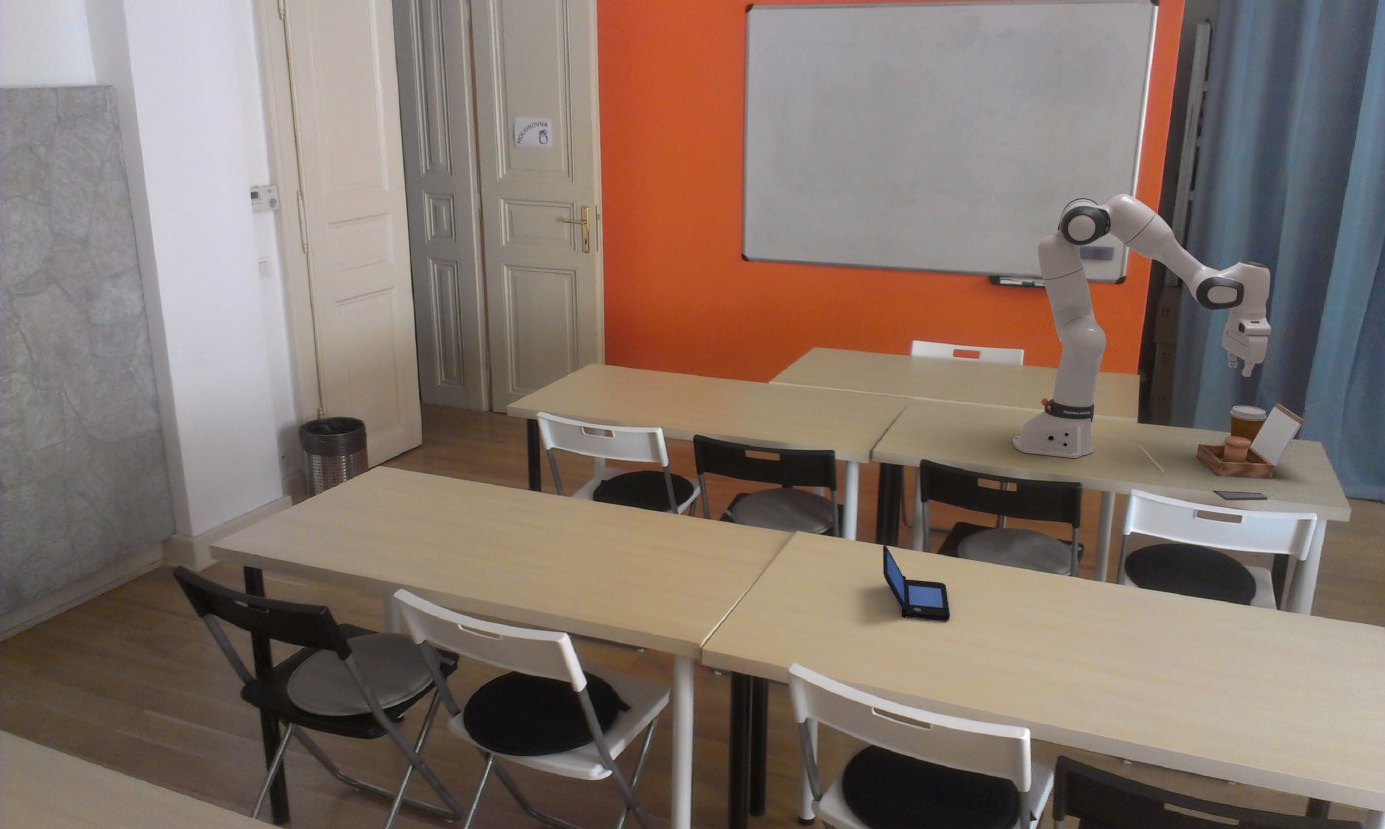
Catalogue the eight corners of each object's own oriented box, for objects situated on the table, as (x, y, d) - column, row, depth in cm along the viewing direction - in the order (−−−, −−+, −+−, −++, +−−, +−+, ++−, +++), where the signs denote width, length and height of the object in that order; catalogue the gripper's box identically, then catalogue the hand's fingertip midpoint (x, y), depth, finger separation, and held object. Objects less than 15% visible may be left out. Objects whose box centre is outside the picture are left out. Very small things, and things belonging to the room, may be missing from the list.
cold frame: (1216, 478, 279) (1219, 462, 278) (1196, 458, 294) (1198, 444, 293) (1270, 481, 278) (1273, 465, 276) (1247, 461, 293) (1250, 446, 292)
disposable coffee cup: (1252, 444, 308) (1259, 405, 305) (1265, 454, 299) (1273, 415, 295) (1219, 442, 309) (1225, 404, 305) (1231, 453, 300) (1238, 413, 296)
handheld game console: (949, 623, 200) (954, 580, 197) (880, 617, 202) (883, 574, 199) (945, 587, 214) (948, 547, 212) (880, 582, 217) (883, 541, 214)
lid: (1301, 419, 272) (1305, 421, 272) (1276, 402, 287) (1279, 404, 287) (1273, 465, 276) (1277, 466, 276) (1250, 446, 292) (1253, 447, 292)
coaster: (1225, 499, 264) (1226, 497, 264) (1203, 484, 275) (1203, 482, 274) (1267, 499, 265) (1267, 497, 264) (1242, 484, 275) (1243, 482, 275)
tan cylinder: (1225, 470, 283) (1230, 442, 281) (1216, 462, 289) (1221, 435, 287) (1249, 471, 282) (1254, 444, 280) (1240, 463, 288) (1245, 436, 286)
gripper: (1219, 314, 287) (1212, 362, 291) (1248, 329, 267) (1241, 381, 271) (1242, 314, 286) (1236, 362, 290) (1274, 329, 267) (1266, 381, 270)
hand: (1239, 371), depth 280 cm, fingers open, 8 cm apart
